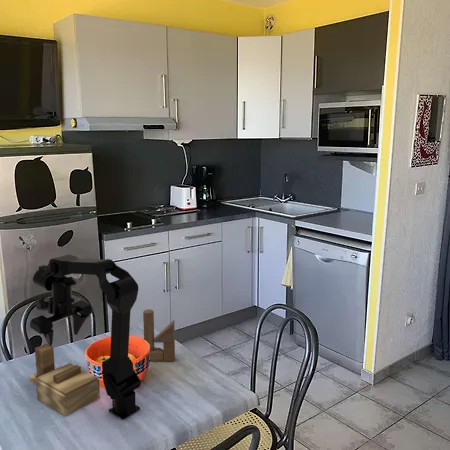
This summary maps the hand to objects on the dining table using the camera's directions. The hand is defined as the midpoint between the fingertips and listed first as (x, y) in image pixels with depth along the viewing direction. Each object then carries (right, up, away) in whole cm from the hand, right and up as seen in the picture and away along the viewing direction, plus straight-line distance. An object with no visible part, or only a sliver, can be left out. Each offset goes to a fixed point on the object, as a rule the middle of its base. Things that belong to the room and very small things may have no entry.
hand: (63, 340), depth 146 cm
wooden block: (+28, -11, +17) cm, 35 cm away
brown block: (-7, -14, +4) cm, 15 cm away
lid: (+4, -10, -8) cm, 13 cm away
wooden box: (-1, -15, -3) cm, 15 cm away
